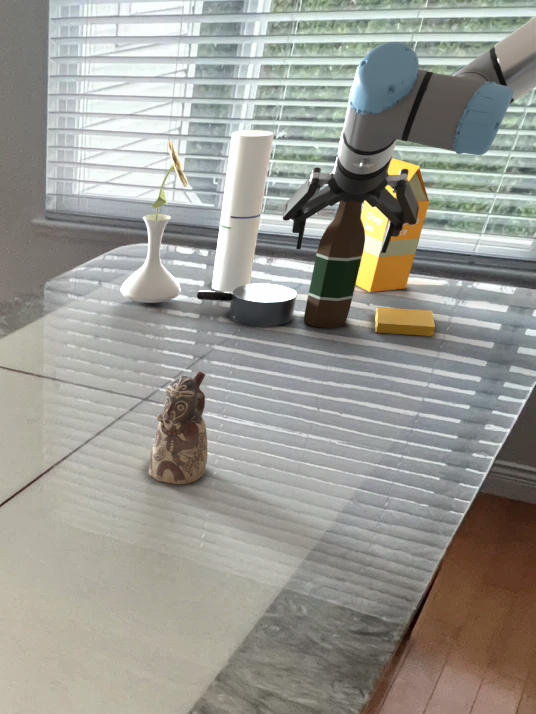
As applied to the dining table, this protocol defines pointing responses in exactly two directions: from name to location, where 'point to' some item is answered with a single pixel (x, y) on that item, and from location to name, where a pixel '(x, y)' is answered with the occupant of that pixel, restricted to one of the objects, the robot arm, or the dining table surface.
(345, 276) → the beer bottle
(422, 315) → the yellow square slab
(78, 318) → the dining table surface
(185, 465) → the figurine
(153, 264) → the flower in vase
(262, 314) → the steel pan
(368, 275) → the orange juice
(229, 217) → the cylindrical container
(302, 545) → the dining table surface
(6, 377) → the dining table surface
